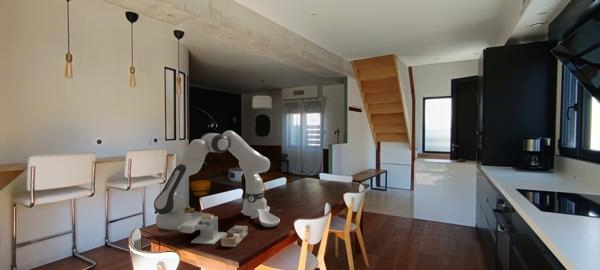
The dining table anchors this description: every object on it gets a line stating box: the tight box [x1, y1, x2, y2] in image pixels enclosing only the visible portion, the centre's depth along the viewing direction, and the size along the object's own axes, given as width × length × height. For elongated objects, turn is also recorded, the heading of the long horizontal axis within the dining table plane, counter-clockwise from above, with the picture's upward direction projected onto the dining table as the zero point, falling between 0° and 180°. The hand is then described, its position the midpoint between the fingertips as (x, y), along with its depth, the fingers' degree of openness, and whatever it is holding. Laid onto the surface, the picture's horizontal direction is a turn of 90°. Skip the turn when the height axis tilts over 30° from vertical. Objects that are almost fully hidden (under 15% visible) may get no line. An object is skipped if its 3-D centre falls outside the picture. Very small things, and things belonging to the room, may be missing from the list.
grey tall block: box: [200, 213, 219, 239], centre depth 142 cm, size 5×7×11 cm
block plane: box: [220, 225, 249, 248], centre depth 140 cm, size 17×7×6 cm, turn 170°
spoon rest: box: [250, 209, 281, 228], centre depth 165 cm, size 24×12×7 cm, turn 42°
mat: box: [190, 231, 227, 245], centre depth 142 cm, size 14×12×1 cm
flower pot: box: [184, 206, 195, 213], centre depth 162 cm, size 9×9×9 cm
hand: (210, 223), depth 142 cm, fingers open, 8 cm apart
